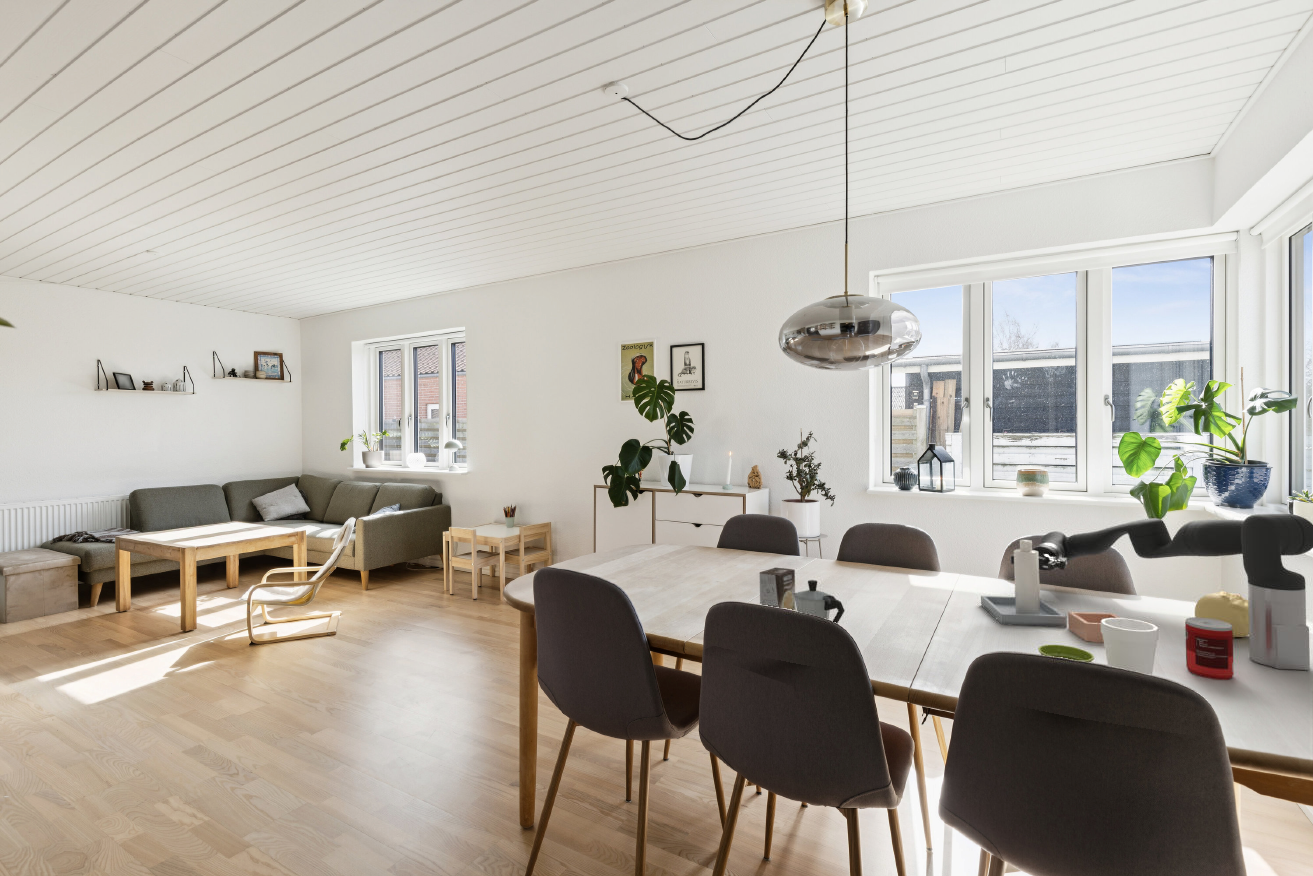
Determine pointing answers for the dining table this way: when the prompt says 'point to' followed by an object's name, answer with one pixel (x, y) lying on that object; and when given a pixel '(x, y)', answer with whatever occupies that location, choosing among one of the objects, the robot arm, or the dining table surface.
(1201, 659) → the canned food
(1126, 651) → the foam cup
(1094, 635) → the holder
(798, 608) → the coffee maker
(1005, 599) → the tray
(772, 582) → the coffee box
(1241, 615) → the sculpture
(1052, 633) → the dining table surface
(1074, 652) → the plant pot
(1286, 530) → the robot arm
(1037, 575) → the bottle
